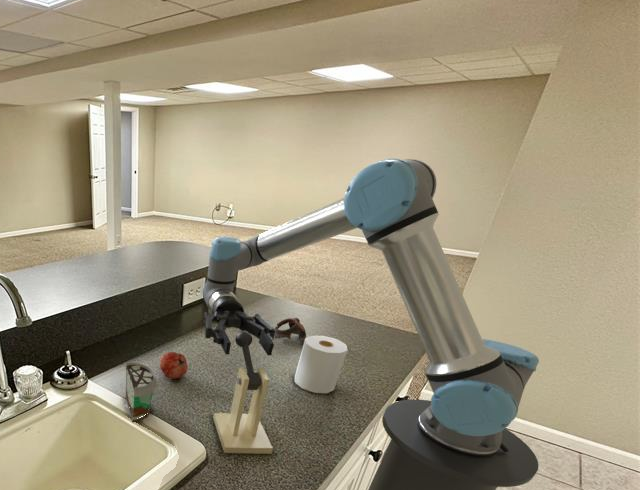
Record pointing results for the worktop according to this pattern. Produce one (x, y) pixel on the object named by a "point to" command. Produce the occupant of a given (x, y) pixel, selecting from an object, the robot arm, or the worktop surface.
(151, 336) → the worktop surface
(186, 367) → the pomegranate
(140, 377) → the food container
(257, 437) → the switch bracket
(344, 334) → the worktop surface
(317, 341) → the toilet paper
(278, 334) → the brown curved openwork frame
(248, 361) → the lever
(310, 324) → the worktop surface
